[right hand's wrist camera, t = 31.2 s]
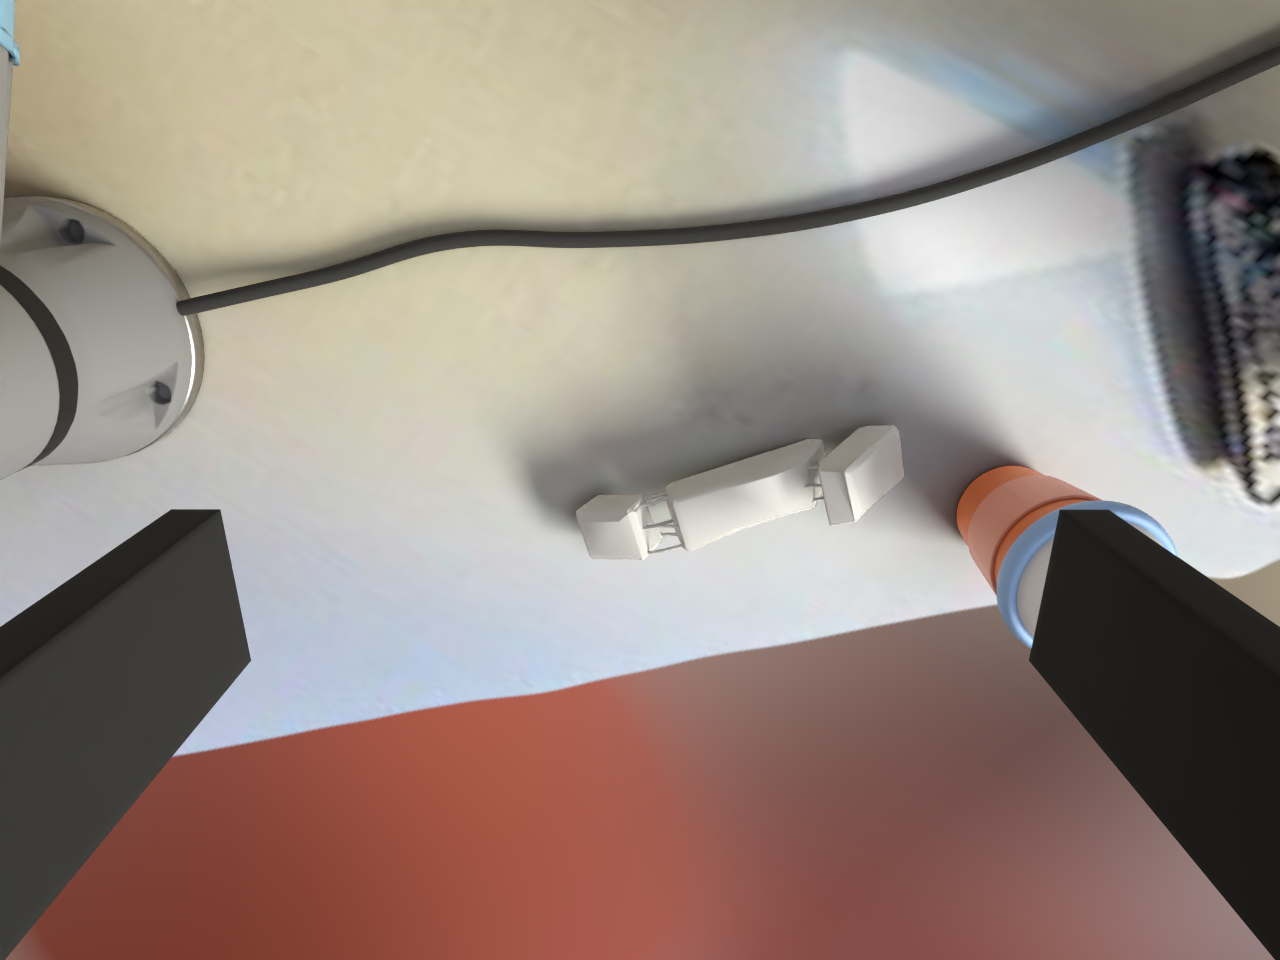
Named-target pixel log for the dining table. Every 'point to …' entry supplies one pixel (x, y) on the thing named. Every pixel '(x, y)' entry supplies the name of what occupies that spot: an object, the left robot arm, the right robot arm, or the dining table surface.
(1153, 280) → the dining table surface
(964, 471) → the dining table surface
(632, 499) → the clamp
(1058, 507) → the cup with straw
